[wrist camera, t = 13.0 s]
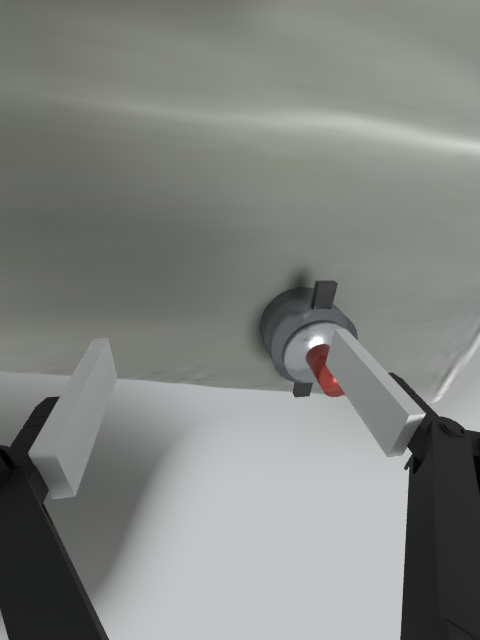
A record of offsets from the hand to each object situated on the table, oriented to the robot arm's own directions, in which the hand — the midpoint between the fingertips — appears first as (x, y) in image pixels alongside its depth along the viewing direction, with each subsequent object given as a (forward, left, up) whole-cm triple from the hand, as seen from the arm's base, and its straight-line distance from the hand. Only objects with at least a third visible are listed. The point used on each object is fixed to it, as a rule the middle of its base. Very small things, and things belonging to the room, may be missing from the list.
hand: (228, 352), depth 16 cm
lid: (+15, +17, -20) cm, 30 cm away
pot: (+15, +17, -29) cm, 36 cm away
